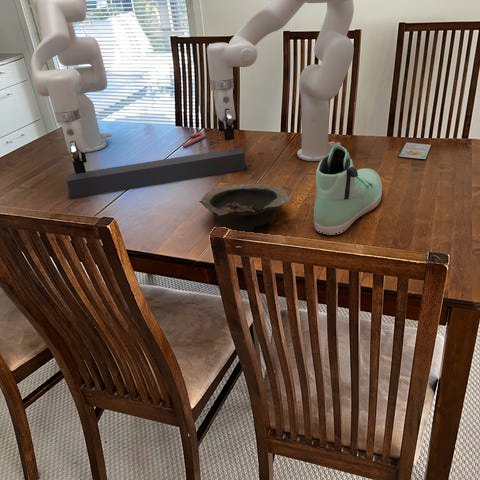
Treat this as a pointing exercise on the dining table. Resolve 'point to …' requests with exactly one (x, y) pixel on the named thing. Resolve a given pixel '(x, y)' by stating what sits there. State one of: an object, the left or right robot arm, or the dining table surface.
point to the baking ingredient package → (415, 150)
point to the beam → (155, 172)
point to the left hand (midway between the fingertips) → (81, 167)
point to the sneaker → (343, 192)
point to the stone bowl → (244, 205)
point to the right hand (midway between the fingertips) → (226, 135)
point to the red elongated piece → (201, 136)
